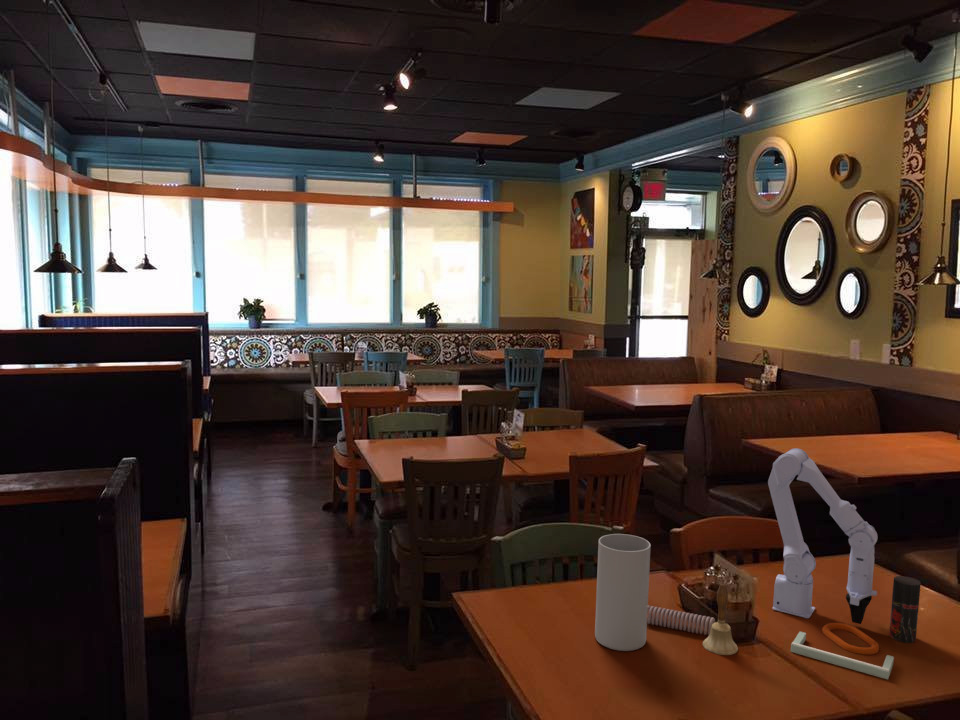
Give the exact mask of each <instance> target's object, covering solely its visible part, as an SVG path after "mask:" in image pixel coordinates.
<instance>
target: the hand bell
mask: <svg viewBox="0 0 960 720" xmlns="http://www.w3.org/2000/svg"><path fill="white" fill-rule="evenodd" d="M728 595H729V593H728V590H727V586H726V584H725V583H719V586H718V589H717V592H716V603H717V608H718V609H717V610H718V613H717V614H718V615H717V621H715V623H713V624H712V627H711V632H710V635H709V636H708V635H707V637H706V638H705V639H703V641H702V646H703V648H704V649H705V650H706V651H708V652H710V653H712V654H716V655H719V656H721V655H722V656H732V655H735V654H736V653H738V651H739V647H738V645H737V644H736V642H735V641H734V639H733V636H732V629H731V626H730V625H729V624H728V623H726V607H727V605H728V599H729V598H728V597H729V596H728Z"/></svg>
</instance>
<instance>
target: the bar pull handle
mask: <svg viewBox="0 0 960 720" xmlns="http://www.w3.org/2000/svg"><path fill="white" fill-rule="evenodd" d="M806 640H807V633H806V632H803V631H799V632H798V633H797V634H796V637H795V638H794V640H793V641H792V642H791V644H790V652H791V653H795V654H798V655H799V656H800V655H801V656H804V657H807V658H811V659H815V660H819V661H822V662H824V663H825V662H826V663H829V664H833V665H835V666H839V667H843V668H846V669H850V670H853V671H856V672H860V673H863V674H866V675H871V676H874V677H877V678H881V679H884V680H889V677H890V675H891V673H892V670H893V666H894V660H895V657H894V656H892V655H888V654H887V655H886V656H885V659H884V662H883V665H882V666H879V665H875V664H872V663H868V662H865V661H861V660H858V659H854V658H850V657H846V656H844V655H840V654H837V653H832V652H829V651H825V650H822V649H818V648H815V647H811V646H807V645H806V644H805V645H804V643H805V642H806Z"/></svg>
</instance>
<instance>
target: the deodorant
mask: <svg viewBox="0 0 960 720" xmlns="http://www.w3.org/2000/svg"><path fill="white" fill-rule="evenodd" d="M921 583H922V582H921V581H920V580H919V579H916V578H914V577H910V576H906V575H905V576H904V575H897V576H894V577H893V584H892V594H891V608H890V609H891V610H890V620H889V621H890V622H889V630H888V631H889V633H888V635H889V637H890V638H892V639H893V640H895V641H896V642H901V643H903V644H904V643H906V644H912V643H915V642H916V641H917V629H918V628H917V627H918V620H919V619H918V618H919V605H920V596H921Z"/></svg>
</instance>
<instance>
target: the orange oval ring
mask: <svg viewBox="0 0 960 720" xmlns="http://www.w3.org/2000/svg"><path fill="white" fill-rule="evenodd" d="M821 629H822V633H823V635H824V636H825V637H826V638H828V639H829V640H831V642H834V643H835V644H836V645H838V646H839V648H841V649H844V650H845V651H848V652H851V653H855V654H857V655H858V654H859V655H864V656H865V655H866V656H867V655H874V654H877V653H878V652H879V650H880V645H879V643H878V642H877V641H876V640H874V639H873V638H871V637H870V636H869V635H867V634H866V633H865V632H863V631H862V630H860V629H859V628H858V627H855V626H852V625H850V624H846V623H840V622H831V623H826V624H825V625H823V627H822V628H821ZM832 630H840V631H841V630H842V631H845V632H849V633H851V634H853V635H855V636H856V637H858V638H859V639H861V640H862V641H864V642H865V643H866V644H867V645H869V646H870V647H860V646H857V645H852V644H850V643H847V642H845V640H843V639H841V638H840V637H839V636H838V635H836V634H835V633H833V632H832Z"/></svg>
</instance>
